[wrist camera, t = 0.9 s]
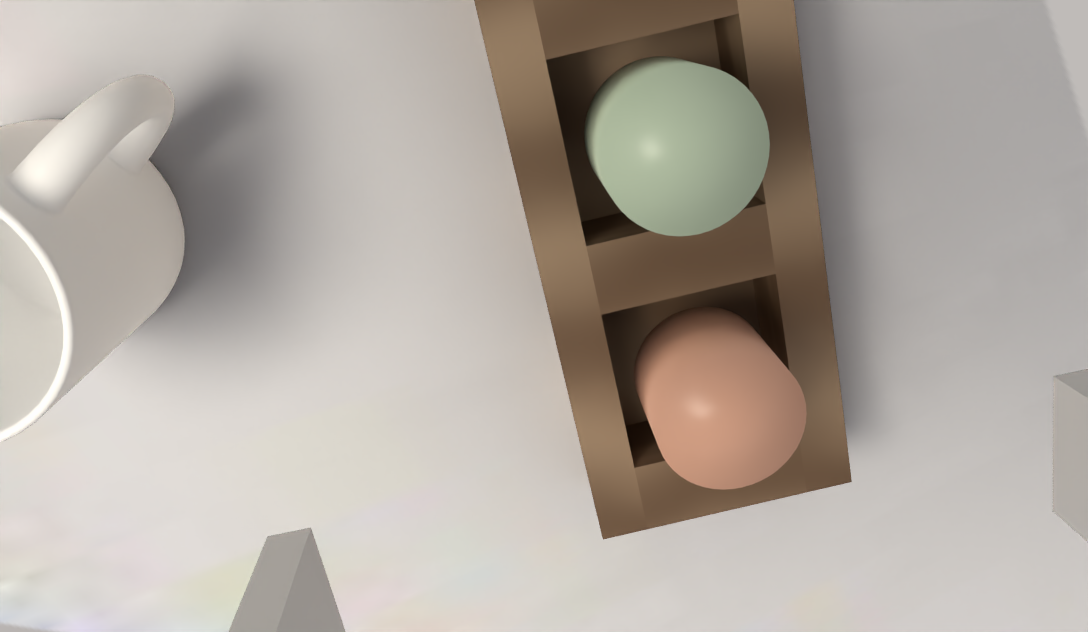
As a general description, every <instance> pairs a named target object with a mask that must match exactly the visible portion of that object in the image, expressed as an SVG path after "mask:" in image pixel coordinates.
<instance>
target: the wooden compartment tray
mask: <svg viewBox="0 0 1088 632" xmlns="http://www.w3.org/2000/svg"><path fill="white" fill-rule="evenodd" d="M474 1H475V5H476V10H477V14H478V18H479V22H480V26H481V31H482V35H483V39H484V43H485V47H486V52H487V56H488V60H489V64H490V68H491V72H492V77H493V81H494V85H495V89H496V93H497V98H498V102H499V106H500V110H501V114H502V118H503V123H504V127H505V131H506V135H507V139H508V144H509V148H510V152H511V156H512V160H513V165H514V169H515V173H516V177H517V181H518V185H519V190H520V194H521V198H522V202H523V206H524V211H525V215H526V219H527V223H528V227H529V232H530V236H531V240H532V244H533V248H534V252H535V257H536V261H537V265H538V269H539V273H540V278H541V282H542V286H543V290H544V294H545V298H546V303H547V307H548V311H549V315H550V319H551V324H552V328H553V332H554V336H555V340H556V345H557V349H558V353H559V357H560V361H561V365H562V370H563V374H564V378H565V382H566V386H567V391H568V395H569V399H570V403H571V407H572V412H573V416H574V420H575V424H576V428H577V432H578V437H579V441H580V445H581V449H582V453H583V458H584V462H585V466H586V470H587V474H588V478H589V483H590V487H591V491H592V495H593V499H594V504H595V508H596V512H597V516H598V520H599V525H600V529H601V533H602V537H603V539H607V538H611V537H615V536H620V535H624V534H628V533H633V532H637V531H641V530H646V529H650V528H654V527H659V526H663V525H667V524H671V523H676V522H680V521H684V520H689V519H693V518H697V517H702V516H706V515H710V514H715V513H719V512H723V511H728V510H732V509H736V508H741V507H745V506H749V505H754V504H758V503H762V502H766V501H771V500H775V499H779V498H784V497H788V496H792V495H797V494H801V493H805V492H810V491H814V490H818V489H823V488H827V487H831V486H836V485H840V484H844V483H849V482H852V481H851V473H850V464H849V456H848V448H847V439H846V431H845V423H844V415H843V406H842V398H841V390H840V381H839V373H838V365H837V356H836V348H835V340H834V332H833V323H832V315H831V307H830V298H829V290H828V282H827V274H826V265H825V257H824V249H823V240H822V232H821V224H820V215H819V207H818V199H817V191H816V182H815V174H814V166H813V157H812V149H811V141H810V133H809V124H808V116H807V108H806V99H805V91H804V83H803V74H802V66H801V58H800V50H799V41H798V33H797V25H796V16H795V8H794V0H474ZM654 56H667V57H674V58H678V59H682V60H686V61H690V62H694V63H698V64H701V65H705V66H709V67H713V68H716V69H719V70H721V71H724V72H726V73H728V74H729V75H731V76H733V77H735V78H736V79H737V80H739V81H740V82H741V83H742V84H744V85H745V86H746V87H747V89H748V90H749V91H750V92H751V93H752V94H753V96H754V97H755V98H756V100H757V101H758V103H759V105H760V107H761V109H762V111H763V113H764V116H765V119H766V122H767V126H768V131H769V140H770V149H769V159H768V164H767V168H766V171H765V175H764V178H763V180H762V182H761V184H760V186H759V188H758V190H757V192H756V193H755V195H754V196H753V198H752V199H751V200H750V202H749V203H748V204H747V205H746V207H745V208H744V209H743V210H741V211H740V212H739V213H738V214H737V215H736V216H735V217H733V218H732V219H731V220H730V221H728V222H726V223H725V224H723V225H721V226H720V227H717V228H715V229H713V230H711V231H708V232H704V233H701V234H697V235H691V236H668V235H663V234H658V233H655V232H652V231H650V230H647V229H645V228H643V227H641V226H639V225H638V224H636V223H635V222H633V221H632V220H631V219H629V218H628V217H627V216H626V215H625V214H624V213H623V212H622V211H621V210H620V209H619V208H618V206H617V205H616V204H615V202H614V201H613V199H612V198H611V196H610V195H609V193H608V192H607V190H606V189H605V187H604V186H603V184H602V183H601V181H600V180H599V178H598V177H597V175H596V174H595V172H594V170H593V169H592V167H591V164H590V162H589V160H588V156H587V153H586V148H585V141H584V129H585V121H586V117H587V112H588V109H589V107H590V104H591V102H592V100H593V98H594V96H595V94H596V93H597V91H598V90H599V88H600V87H601V86H602V84H603V83H604V82H605V81H606V80H607V79H608V78H609V77H610V76H611V75H612V74H614V73H615V72H616V71H617V70H619V69H620V68H622V67H624V66H625V65H627V64H629V63H632V62H634V61H637V60H640V59H643V58H648V57H654ZM696 307H716V308H721V309H725V310H728V311H730V312H733V313H735V314H737V315H739V316H740V317H742V318H743V319H744V320H746V321H747V322H748V323H749V324H750V325H751V326H752V327H753V328H754V329H755V331H756V332H757V333H758V334H759V335H760V336H761V338H762V339H763V340H764V341H765V342H766V344H767V345H768V346H769V347H770V348H771V350H772V351H773V352H774V353H775V354H776V356H777V357H778V358H779V359H780V360H781V362H782V363H783V364H784V365H785V366H786V368H787V369H788V370H789V371H790V372H791V373H792V375H793V376H794V377H795V379H796V380H797V382H798V383H799V385H800V387H801V389H802V392H803V394H804V398H805V402H806V412H807V415H806V425H805V429H804V433H803V436H802V438H801V441H800V443H799V445H798V447H797V449H796V450H795V452H794V453H793V454H792V456H791V457H790V458H789V460H788V461H787V462H786V463H785V464H784V465H783V466H782V467H781V468H780V469H778V470H777V471H776V472H774V473H773V474H772V475H770V476H769V477H767V478H765V479H763V480H761V481H759V482H757V483H754V484H752V485H749V486H745V487H742V488H736V489H725V490H721V489H711V488H705V487H702V486H699V485H696V484H693V483H691V482H689V481H687V480H685V479H684V478H682V477H681V476H679V475H678V474H677V473H676V472H675V471H674V470H673V469H672V468H671V467H670V466H669V465H668V464H667V462H666V461H665V459H664V458H663V456H662V454H661V451H660V449H659V447H658V444H657V442H656V439H655V437H654V434H653V432H652V429H651V427H650V424H649V422H648V419H647V417H646V414H645V411H644V409H643V406H642V404H641V401H640V399H639V396H638V394H637V391H636V387H635V382H634V366H635V360H636V357H637V353H638V351H639V349H640V346H641V344H642V343H643V341H644V340H645V338H646V337H647V335H648V334H649V333H650V332H651V331H652V330H653V329H654V328H655V327H656V326H657V325H658V324H659V323H660V322H662V321H663V320H664V319H666V318H668V317H669V316H671V315H673V314H675V313H678V312H680V311H683V310H686V309H690V308H696Z"/></svg>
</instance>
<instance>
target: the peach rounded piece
mask: <svg viewBox="0 0 1088 632" xmlns="http://www.w3.org/2000/svg"><path fill="white" fill-rule="evenodd" d="M634 382H635V387H636V391H637V394H638V396H639V399H640V401H641V404H642V406H643V409H644V411H645V414H646V417H647V419H648V422H649V424H650V427H651V429H652V432H653V434H654V437H655V439H656V442H657V444H658V447H659V449H660V451H661V454H662V456H663V458H664V459H665V461H666V462H667V464H668V465H669V466H670V467H671V468H672V469H673V470H674V471H675V472H676V473H677V474H678V475H679V476H681V477H682V478H684V479H685V480H687V481H689V482H691V483H693V484H696V485H699V486H702V487H705V488H711V489H721V490H725V489H736V488H742V487H745V486H749V485H752V484H754V483H757V482H759V481H761V480H763V479H765V478H767V477H769V476H770V475H772V474H773V473H774V472H776V471H777V470H778V469H780V468H781V467H782V466H783V465H784V464H785V463H786V462H787V461H788V460H789V458H790V457H791V456H792V454H793V453H794V452H795V450H796V449H797V447H798V445H799V443H800V441H801V438H802V436H803V433H804V429H805V425H806V415H807V412H806V402H805V398H804V394H803V392H802V389H801V387H800V385H799V383H798V382H797V380H796V379H795V377H794V376H793V375H792V373H791V372H790V371H789V370H788V369H787V368H786V366H785V365H784V364H783V363H782V362H781V360H780V359H779V358H778V357H777V356H776V354H775V353H774V352H773V351H772V350H771V348H770V347H769V346H768V345H767V344H766V342H765V341H764V340H763V339H762V338H761V336H760V335H759V334H758V333H757V332H756V331H755V329H754V328H753V327H752V326H751V325H750V324H749V323H748V322H747V321H746V320H744V319H743V318H742V317H740V316H739V315H737V314H735V313H733V312H730V311H728V310H725V309H721V308H716V307H696V308H690V309H686V310H683V311H680V312H678V313H675V314H673V315H671V316H669V317H668V318H666V319H664V320H663V321H662V322H660V323H659V324H658V325H657V326H656V327H655V328H654V329H653V330H652V331H651V332H650V333H649V334H648V335H647V337H646V338H645V340H644V341H643V343H642V344H641V346H640V349H639V351H638V353H637V357H636V360H635V366H634Z"/></svg>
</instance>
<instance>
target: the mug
mask: <svg viewBox="0 0 1088 632" xmlns="http://www.w3.org/2000/svg"><path fill="white" fill-rule="evenodd" d="M174 107H175V100H174V97H173V94H172V92H171V90H170V88H169V87H168V86H167V85H166V83H165V82H163V81H161V80H159V79H158V78H156V77H154V76H150V75H134V76H131V77H127V78H123V79H120V80H118V81H116V82H114V83H111V84H110V85H108V86H106V87H104V88H103V89H101V90H99V91H98V92H97V93H95V94H94V95H92V96H91V97H89V98H88V99H87V100H85V101H84V102H83V103H82V104H80V105H79V106H78V107H77V108H75V109H74V110H73V111H72V112H71V113H70V114H68V115H67V116H66V117H65V118H64V119H63V120H55V119H43V120H31V121H23V122H18V123H13V124H9V125H4V126H0V442H2V441H5V440H7V439H9V438H11V437H13V436H15V435H17V434H19V433H21V432H22V431H24V430H25V429H26V428H28V427H29V426H31V425H32V424H33V423H35V422H36V421H37V420H38V419H39V418H40V417H42V416H43V415H44V414H45V413H46V412H47V411H48V410H49V409H50V408H51V407H52V406H53V405H55V404H56V403H57V402H58V401H59V400H60V399H61V398H62V397H63V396H64V395H65V394H66V393H68V392H69V391H70V390H71V389H72V388H73V387H74V386H75V385H76V384H77V383H78V382H80V381H81V380H82V379H83V378H84V377H85V376H86V375H87V374H88V373H89V372H90V371H91V370H93V369H94V368H95V367H96V366H97V365H98V364H99V363H100V362H101V361H102V360H103V359H104V358H106V357H107V356H108V355H109V354H110V353H111V352H112V351H113V350H114V349H115V348H116V347H117V346H119V345H120V344H121V343H122V342H123V341H124V340H125V339H126V338H127V337H128V336H129V335H130V334H132V333H133V332H134V331H135V330H136V329H137V328H138V327H139V326H140V325H141V324H142V323H144V322H145V321H146V320H147V319H148V318H149V317H150V316H151V315H152V314H153V313H154V312H155V311H156V310H157V309H158V308H159V306H160V305H161V304H162V303H163V301H164V300H165V299H166V297H167V296H168V295H169V293H170V291H171V290H172V288H173V286H174V284H175V282H176V280H177V278H178V275H179V272H180V270H181V267H182V262H183V257H184V248H185V235H184V226H183V221H182V216H181V212H180V210H179V207H178V204H177V201H176V199H175V197H174V195H173V193H172V191H171V189H170V187H169V186H168V184H167V183H166V181H165V180H164V178H163V177H162V175H161V174H160V172H159V171H158V170H157V169H156V168H155V166H154V165H153V164H152V163H151V162H150V161H149V158H150V157H151V155H152V154H153V152H154V151H155V149H156V148H157V146H158V145H159V143H160V142H161V140H162V138H163V137H164V135H165V133H166V131H167V130H168V128H169V126H170V123H171V121H172V119H173V115H174Z"/></svg>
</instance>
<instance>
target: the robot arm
mask: <svg viewBox="0 0 1088 632" xmlns="http://www.w3.org/2000/svg"><path fill="white" fill-rule="evenodd" d="M1053 512H1054V513H1055V514H1056V515H1058V516H1059V517H1060V518H1061V519H1062V520H1063V521H1064V522H1065V523H1067V524H1068V525H1069V526H1070V527H1071V528H1072V529H1073V530H1074V531H1076V532H1077V533H1078V534H1079V535H1080V536H1081V537H1082V538H1083V539H1085V540H1086V541H1087V542H1088V369H1086V370H1081V371H1076V372H1072V373H1067V374H1062V375H1057V376H1054V383H1053ZM229 632H345V629H344V626H343V623H342V620H341V617H340V614H339V611H338V608H337V605H336V602H335V599H334V596H333V593H332V590H331V587H330V584H329V581H328V578H327V575H326V572H325V569H324V566H323V563H322V560H321V557H320V554H319V551H318V548H317V545H316V542H315V539H314V536H313V533H312V530H311V528H307V529H302V530H297V531H292V532H287V533H282V534H277V535H273V536H268V537H267V539H266V542H265V544H264V547H263V549H262V551H261V554H260V556H259V559H258V561H257V564H256V566H255V569H254V571H253V573H252V576H251V578H250V581H249V583H248V586H247V588H246V591H245V593H244V595H243V598H242V600H241V603H240V605H239V608H238V610H237V613H236V615H235V617H234V620H233V622H232V625H231V627H230V630H229Z"/></svg>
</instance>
